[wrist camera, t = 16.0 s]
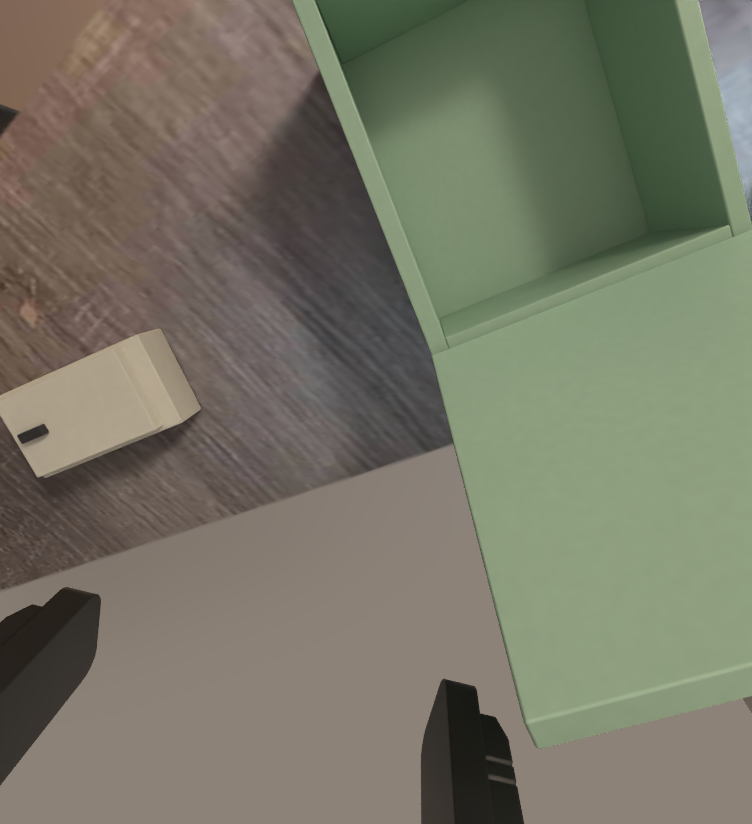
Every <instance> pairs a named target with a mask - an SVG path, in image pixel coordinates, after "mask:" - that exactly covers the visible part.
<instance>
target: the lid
mask: <svg viewBox="0 0 752 824" xmlns="http://www.w3.org/2000/svg"><path fill="white" fill-rule="evenodd" d="M432 361H433V365H434V369H435V372H436V376H437V380H438V384H439V388H440V392H441V396H442V400H443V404H444V408H445V412H446V416H447V420H448V424H449V428H450V432H451V436H452V440H453V444H454V448H455V451H456V456H457V460H458V463H459V467H460V471H461V475H462V479H463V483H464V487H465V491H466V495H467V499H468V503H469V507H470V511H471V515H472V519H473V523H474V527H475V531H476V535H477V539H478V543H479V547H480V551H481V554H482V559H483V562H484V566H485V570H486V574H487V578H488V582H489V586H490V590H491V594H492V598H493V602H494V606H495V610H496V614H497V618H498V622H499V626H500V630H501V634H502V638H503V642H504V646H505V649H506V654H507V658H508V661H509V665H510V670H511V673H512V677H513V681H514V685H515V689H516V693H517V697H518V701H519V705H520V709H521V713H522V717H523V721H524V724H525V726H526V727H527V730H528V732H529V734H530V736H531V738H532V740H533V742H534V745H535V746H536V748H538V749H542V748H546V747H550V746H554V745H558V744H562V743H566V742H570V741H574V740H578V739H582V738H586V737H590V736H594V735H598V734H602V733H606V732H610V731H614V730H618V729H622V728H626V727H630V726H634V725H638V724H642V723H646V722H650V721H654V720H658V719H662V718H666V717H670V716H674V715H678V714H682V713H686V712H690V711H694V710H698V709H702V708H706V707H710V706H714V705H718V704H722V703H726V702H730V701H734V700H738V699H742V698H743V699H744V701H745V703H746V705H747V706H748V708H749V709H750V711H751V712H752V230H750V231H747V232H745V233H742V234H740V235H737V236H735V237H732V238H730V239H727V240H725V241H722V242H719V243H717V244H714V245H712V246H709V247H707V248H704V249H702V250H699V251H697V252H694V253H692V254H689V255H686V256H684V257H681V258H679V259H676V260H674V261H671V262H669V263H666V264H664V265H661V266H659V267H656V268H653V269H651V270H648V271H646V272H643V273H641V274H638V275H636V276H633V277H631V278H628V279H625V280H623V281H620V282H618V283H615V284H613V285H610V286H608V287H605V288H603V289H600V290H598V291H595V292H592V293H590V294H587V295H585V296H582V297H580V298H577V299H575V300H572V301H570V302H567V303H565V304H562V305H559V306H557V307H554V308H552V309H549V310H547V311H544V312H542V313H539V314H537V315H534V316H532V317H529V318H526V319H524V320H521V321H519V322H516V323H514V324H511V325H509V326H506V327H504V328H501V329H498V330H496V331H493V332H491V333H488V334H486V335H483V336H481V337H478V338H476V339H473V340H471V341H468V342H465V343H463V344H460V345H458V346H455V347H453V348H450V349H448V350H445V351H443V352H440V353H438V354H435V355H433V356H432Z"/></svg>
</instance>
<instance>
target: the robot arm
mask: <svg viewBox="0 0 752 824" xmlns="http://www.w3.org/2000/svg"><path fill="white" fill-rule="evenodd" d="M100 604H101V599H100V596H99V595H98V594H93V593H89V592H85V591H81V590H77V589H73V588H68V587H65V588H63V589H61V590H60V591H59V592H58V593H57V594H56V595H54V597H52V599H50V600H49V601H48V602H47V603H46V604H45V605H44V606H43V607H41V606H37V605H30V606H28V607H26V608H24V609H22V610H20V611H18V612H16V613H14V614H12V615H10V616H8V617H6V618H5V619H4V620H3V621H2V622H0V785H1V784H2V782H3V781H4V780H5V779H6V777H7V776H8V775H9V774H10V772H11V771H12V770H13V768H14V767H15V766H16V764H17V763H18V762H19V761H20V760H21V758H22V757H23V756H24V754H25V753H26V752H27V751H28V749H29V748H30V747H31V746H32V744H33V743H34V742H35V740H36V739H37V738H38V737H39V735H40V734H41V733H42V731H43V730H44V729H45V727H46V726H47V725H48V724H49V723H50V721H51V720H52V719H53V717H54V716H55V715H56V714H57V712H58V711H59V710H60V708H61V707H62V706H63V704H64V703H65V702H66V701H67V700H68V698H69V697H70V696H71V694H72V693H73V692H74V691H75V689H76V688H77V687H78V686H79V684H80V683H81V682H82V680H83V679H84V677H85V676H86V675H87V673H88V671H89V669H90V667H91V665H92V663H93V660H94V657H95V653H96V649H97V637H98V627H99V616H100ZM512 763H513V762H512V756H511V751H510V746H509V740H508V738H507V736H506V734H505V733H504V731H503V729H502V728H501V726H500V724H499V723H498V721H497V719H496V717H493V716H489V715H484V714H480V711H479V703H478V696H477V690H476V688H475V686H471V685H467V684H462V683H459V682H455V681H450V680H446V679H443V680H442V681H441V683H440V686H439V689H438V692H437V695H436V698H435V701H434V705H433V708H432V711H431V714H430V717H429V720H428V724H427V726H426V730H425V734H424V739H423V744H422V753H421V824H524V821H523V815H522V810H521V805H520V800H519V794H518V789H517V786H516V778H515V773H514V768H513V767H512Z"/></svg>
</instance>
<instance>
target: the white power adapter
mask: <svg viewBox="0 0 752 824" xmlns="http://www.w3.org/2000/svg"><path fill="white" fill-rule="evenodd" d="M200 410H201V407H200V405H199V403H198V401H197V399H196V397H195V395H194V393H193V391H192V389H191V387H190V385H189V383H188V381H187V379H186V377H185V375H184V373H183V371H182V369H181V367H180V366H179V364H178V362H177V360H176V358H175V356H174V354H173V352H172V350H171V348H170V346H169V344H168V342H167V340H166V338H165V336H164V334H163V332H162V330H161V329H160V328H158V329H155V330H151V331H147V332H144V333H140V334H137V335H134V336H132V337H130V338H127V339H125V340H123V341H121V342H118V343H116V344H114V345H112V346H110V347H107V348H105V349H103V350H101V351H98V352H96V353H94V354H92V355H89V356H87V357H85V358H83V359H80V360H78V361H76V362H74V363H71V364H69V365H67V366H65V367H62V368H60V369H58V370H56V371H54V372H51V373H49V374H47V375H45V376H42V377H40V378H38V379H36V380H33V381H31V382H29V383H27V384H24V385H22V386H20V387H18V388H15V389H13V390H11V391H9V392H6V393H4V394H2V395H0V416H1V418H2V419H3V421H4V423H5V424H6V426H7V428H8V429H9V431H10V433H11V434H12V436H13V438H14V439H15V441H16V443H17V444H18V446H19V448H20V449H21V451H22V453H23V454H24V456H25V458H26V459H27V461H28V463H29V464H30V466H31V468H32V469H33V471H34V472H35V474H36V476H37V477H41V476H43V477H44V478H47V477H50V476H52V475H55V474H57V473H60V472H62V471H65V470H67V469H69V468H72V467H74V466H77V465H79V464H82V463H84V462H87V461H89V460H92V459H94V458H97V457H99V456H102V455H104V454H106V453H109V452H111V451H114V450H116V449H119V448H121V447H124V446H126V445H129V444H131V443H134V442H136V441H139V440H141V439H143V438H146V437H148V436H151V435H153V434H156V433H158V432H161V431H163V430H166V429H168V428H171V427H173V426H176V425H178V424H180V423H183V422H184V421H185V420H187V419H188V418H190V417H191V416H193V415H194V414H195V413H197V412H198V411H200Z"/></svg>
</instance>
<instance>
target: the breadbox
mask: <svg viewBox="0 0 752 824" xmlns="http://www.w3.org/2000/svg"><path fill="white" fill-rule="evenodd" d="M292 2H293V5H294V7H295V10H296V12H297V15H298V18H299V20H300V23H301V25H302V28H303V30H304V33H305V35H306V38H307V40H308V43H309V45H310V48H311V51H312V53H313V56H314V58H315V61H316V63H317V66H318V68H319V71H320V73H321V76H322V78H323V81H324V83H325V86H326V89H327V91H328V94H329V96H330V99H331V101H332V104H333V106H334V109H335V111H336V114H337V116H338V119H339V122H340V124H341V127H342V129H343V132H344V134H345V137H346V139H347V142H348V144H349V147H350V149H351V152H352V155H353V157H354V160H355V162H356V165H357V167H358V170H359V172H360V175H361V177H362V180H363V182H364V185H365V188H366V190H367V193H368V195H369V198H370V200H371V203H372V205H373V208H374V210H375V213H376V215H377V218H378V220H379V223H380V226H381V228H382V231H383V233H384V236H385V238H386V241H387V243H388V246H389V248H390V251H391V253H392V256H393V259H394V261H395V264H396V266H397V269H398V271H399V274H400V276H401V279H402V281H403V284H404V286H405V289H406V292H407V294H408V297H409V299H410V302H411V304H412V307H413V309H414V312H415V314H416V317H417V319H418V322H419V325H420V327H421V330H422V332H423V335H424V337H425V340H426V342H427V345H428V347H429V350H430V352H431V355H432V356H433V355H435V354H438V353H440V352H443V351H445V350H448V349H450V348H453V347H455V346H458V345H460V344H463V343H465V342H468V341H471V340H473V339H476V338H478V337H481V336H483V335H486V334H488V333H491V332H493V331H496V330H498V329H501V328H504V327H506V326H509V325H511V324H514V323H516V322H519V321H521V320H524V319H526V318H529V317H532V316H534V315H537V314H539V313H542V312H544V311H547V310H549V309H552V308H554V307H557V306H559V305H562V304H565V303H567V302H570V301H572V300H575V299H577V298H580V297H582V296H585V295H587V294H590V293H592V292H595V291H598V290H600V289H603V288H605V287H608V286H610V285H613V284H615V283H618V282H620V281H623V280H625V279H628V278H631V277H633V276H636V275H638V274H641V273H643V272H646V271H648V270H651V269H653V268H656V267H659V266H661V265H664V264H666V263H669V262H671V261H674V260H676V259H679V258H681V257H684V256H686V255H689V254H692V253H694V252H697V251H699V250H702V249H704V248H707V247H709V246H712V245H714V244H717V243H719V242H722V241H725V240H727V239H730V238H732V237H735V236H737V235H740V234H742V233H745V232H747V231H750V230H752V223H751V219H750V215H749V211H748V207H747V202H746V198H745V194H744V190H743V186H742V181H741V177H740V173H739V169H738V165H737V160H736V156H735V152H734V148H733V144H732V140H731V135H730V131H729V127H728V123H727V119H726V114H725V110H724V106H723V102H722V98H721V93H720V89H719V85H718V81H717V77H716V73H715V68H714V64H713V60H712V56H711V52H710V47H709V43H708V39H707V35H706V31H705V27H704V22H703V18H702V14H701V10H700V6H699V1H698V0H292Z"/></svg>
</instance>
